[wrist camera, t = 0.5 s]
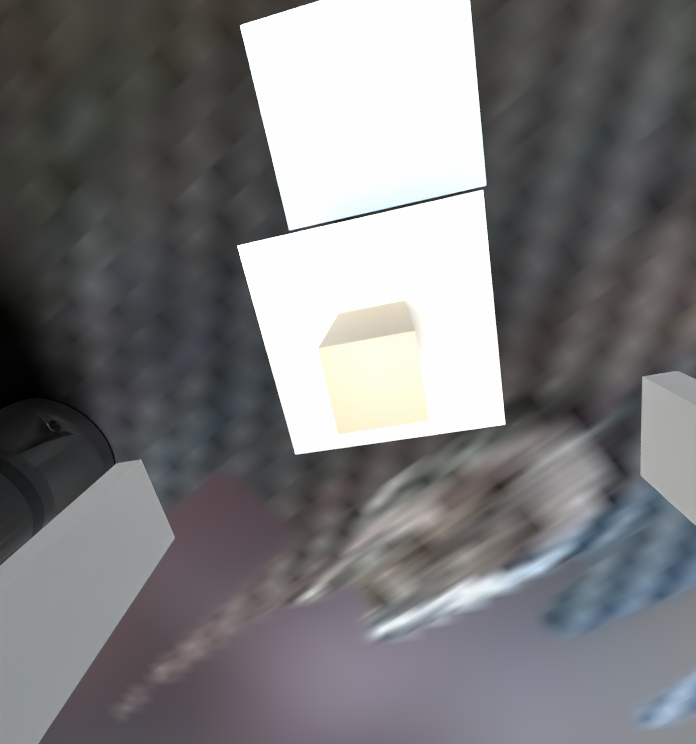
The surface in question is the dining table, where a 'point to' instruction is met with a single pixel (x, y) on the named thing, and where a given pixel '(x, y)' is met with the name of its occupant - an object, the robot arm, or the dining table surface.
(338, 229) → the lid
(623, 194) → the dining table surface
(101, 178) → the dining table surface
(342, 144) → the mat
